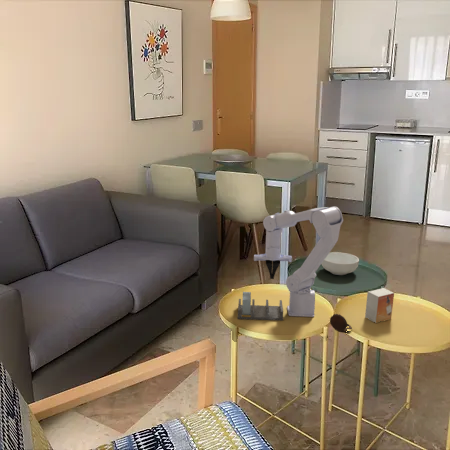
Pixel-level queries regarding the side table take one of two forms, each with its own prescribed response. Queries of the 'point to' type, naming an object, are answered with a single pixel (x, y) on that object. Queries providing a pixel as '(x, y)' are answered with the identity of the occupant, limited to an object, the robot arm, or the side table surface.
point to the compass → (339, 323)
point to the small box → (379, 305)
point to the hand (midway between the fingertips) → (271, 278)
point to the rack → (262, 312)
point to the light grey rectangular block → (246, 303)
